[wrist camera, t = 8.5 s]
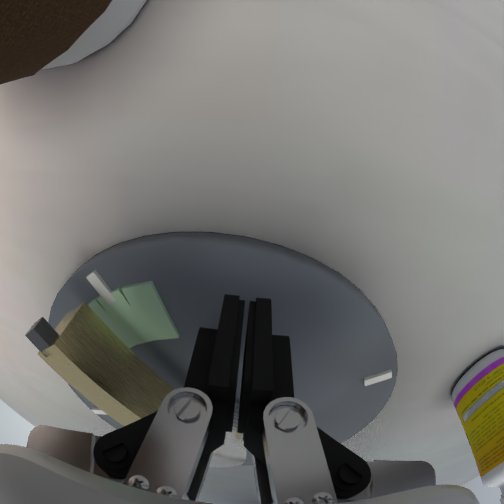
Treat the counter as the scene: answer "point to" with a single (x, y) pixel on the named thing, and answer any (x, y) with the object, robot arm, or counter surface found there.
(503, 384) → the supplement bottle
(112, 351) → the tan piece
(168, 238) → the dial
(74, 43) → the coffee cup
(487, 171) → the counter surface
